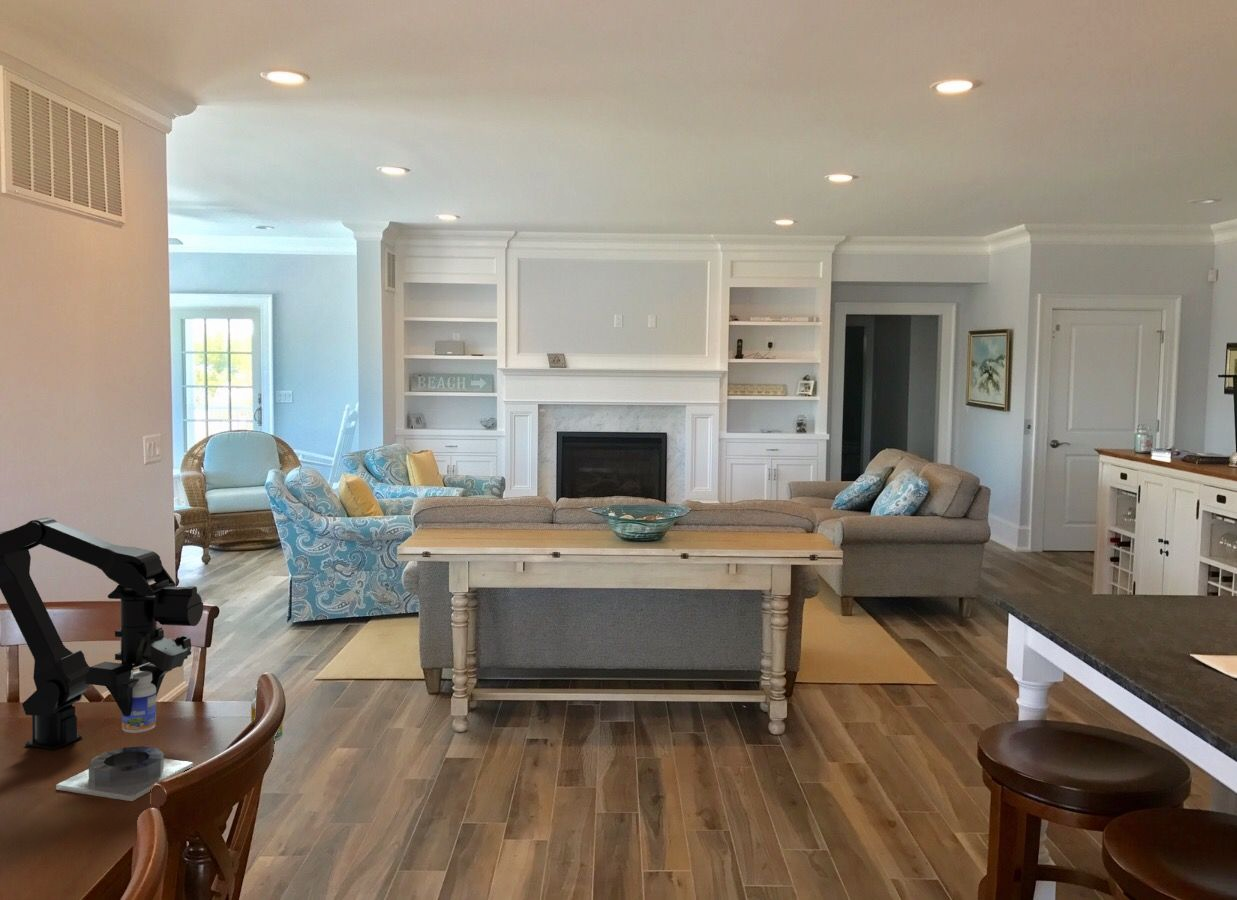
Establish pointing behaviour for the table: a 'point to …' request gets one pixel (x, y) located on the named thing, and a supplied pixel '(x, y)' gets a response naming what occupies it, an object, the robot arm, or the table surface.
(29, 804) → the table surface
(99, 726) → the table surface
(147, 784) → the collar
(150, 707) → the pill bottle
